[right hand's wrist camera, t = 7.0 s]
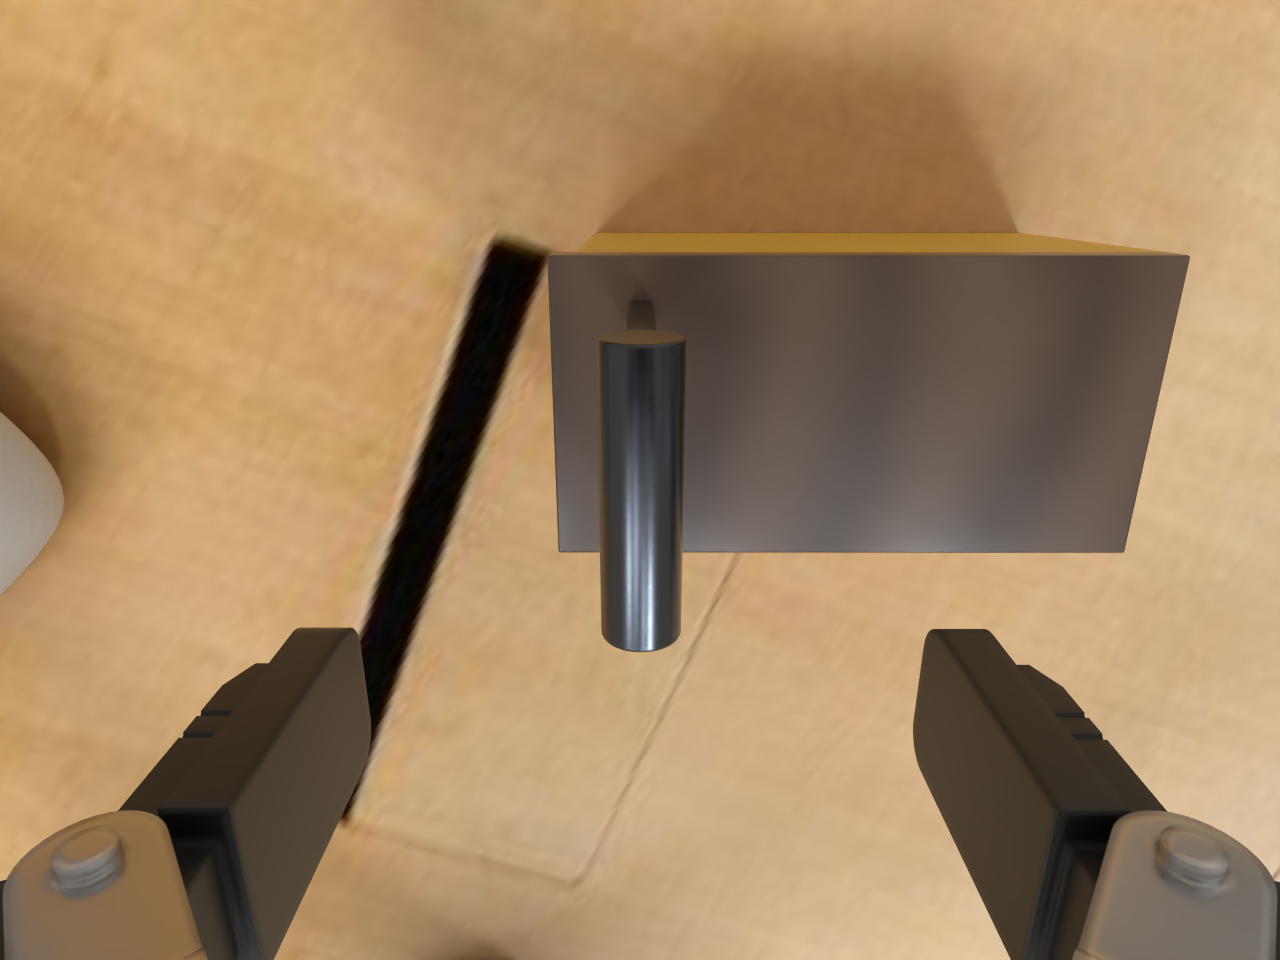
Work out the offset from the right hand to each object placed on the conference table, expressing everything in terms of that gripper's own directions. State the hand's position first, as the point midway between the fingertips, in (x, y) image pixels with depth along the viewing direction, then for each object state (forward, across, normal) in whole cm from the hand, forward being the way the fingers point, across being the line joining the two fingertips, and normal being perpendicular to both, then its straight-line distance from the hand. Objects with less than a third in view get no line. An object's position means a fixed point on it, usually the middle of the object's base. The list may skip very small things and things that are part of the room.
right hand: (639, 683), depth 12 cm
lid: (+15, -7, 0) cm, 17 cm away
